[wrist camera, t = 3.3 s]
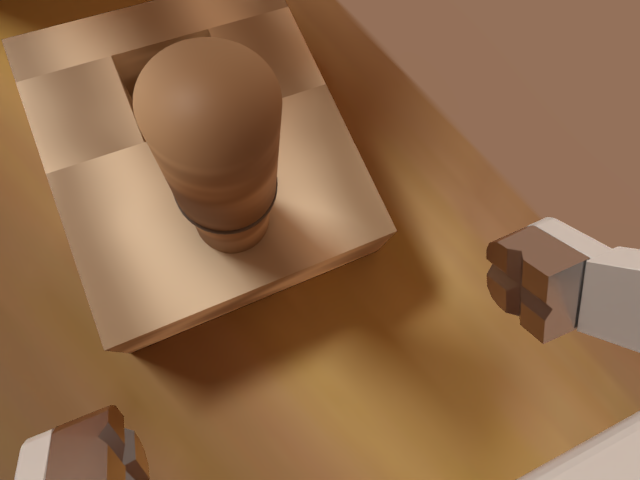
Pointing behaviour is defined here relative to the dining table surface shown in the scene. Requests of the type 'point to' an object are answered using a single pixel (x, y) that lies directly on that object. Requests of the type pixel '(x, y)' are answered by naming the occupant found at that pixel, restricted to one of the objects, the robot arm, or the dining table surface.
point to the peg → (214, 135)
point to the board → (151, 186)
